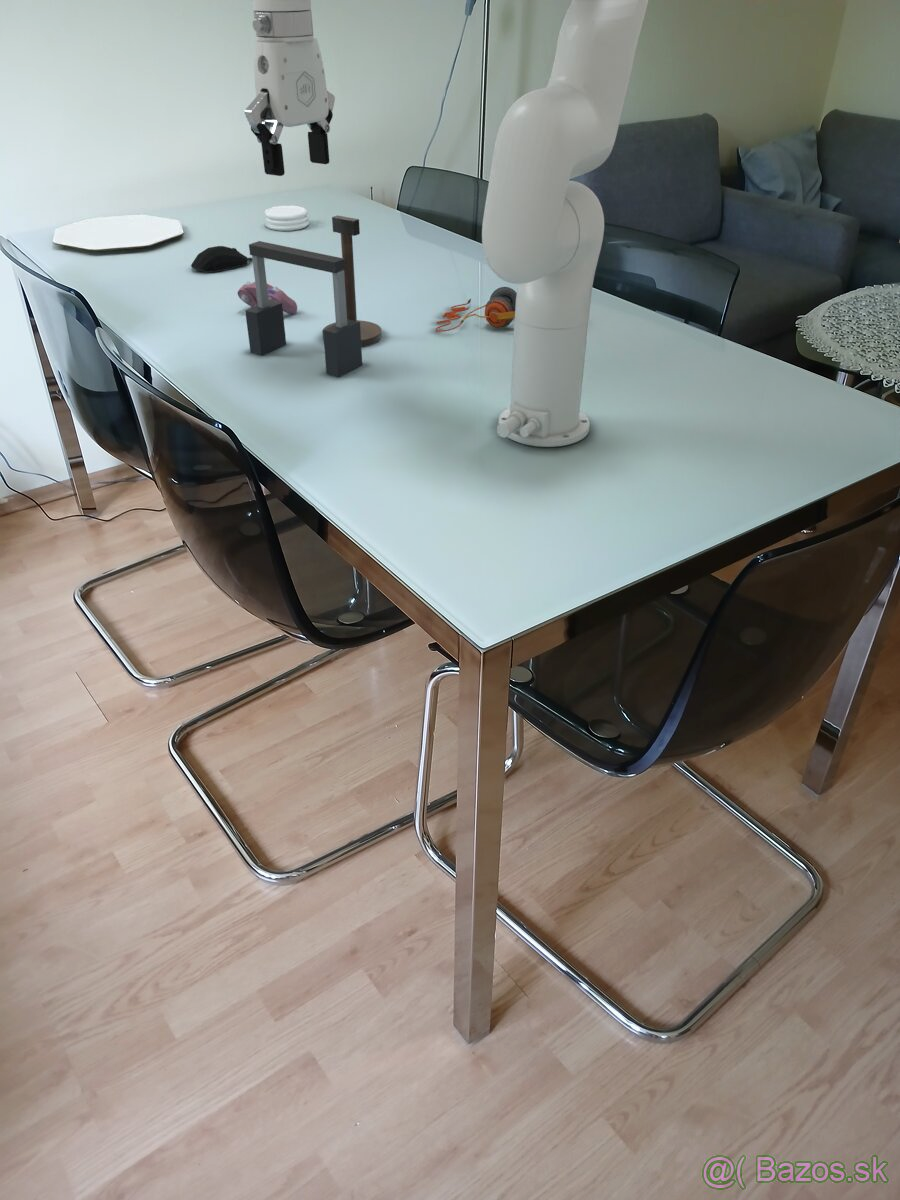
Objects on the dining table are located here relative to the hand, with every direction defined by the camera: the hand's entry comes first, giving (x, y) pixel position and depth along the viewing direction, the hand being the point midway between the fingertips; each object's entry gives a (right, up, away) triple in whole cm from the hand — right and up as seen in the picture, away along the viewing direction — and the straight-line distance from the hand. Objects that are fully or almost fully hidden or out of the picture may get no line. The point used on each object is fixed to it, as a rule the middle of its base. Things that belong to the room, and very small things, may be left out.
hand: (297, 168), depth 130 cm
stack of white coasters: (-16, +26, +84) cm, 89 cm away
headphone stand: (+5, -17, +25) cm, 31 cm away
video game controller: (-11, -10, +35) cm, 38 cm away
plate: (-52, +20, +75) cm, 94 cm away
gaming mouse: (-24, +7, +58) cm, 63 cm away
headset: (-2, -23, +17) cm, 28 cm away
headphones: (+29, -12, +32) cm, 45 cm away
